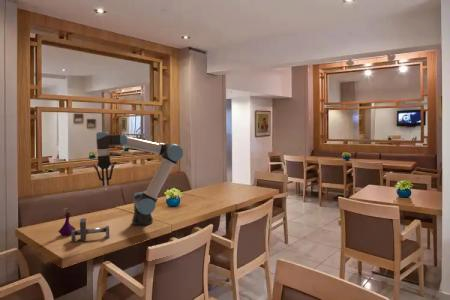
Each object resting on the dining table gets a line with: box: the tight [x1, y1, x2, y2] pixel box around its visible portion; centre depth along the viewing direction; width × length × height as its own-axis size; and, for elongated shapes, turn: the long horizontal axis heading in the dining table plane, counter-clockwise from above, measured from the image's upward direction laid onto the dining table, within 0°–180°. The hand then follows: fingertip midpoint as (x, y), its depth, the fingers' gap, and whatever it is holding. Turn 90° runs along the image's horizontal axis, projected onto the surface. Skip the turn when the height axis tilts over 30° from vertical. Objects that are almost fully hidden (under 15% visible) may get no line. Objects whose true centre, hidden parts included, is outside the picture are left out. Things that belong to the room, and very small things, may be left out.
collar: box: [79, 217, 87, 242], centre depth 198 cm, size 3×9×12 cm, turn 22°
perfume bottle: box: [58, 208, 76, 237], centre depth 208 cm, size 8×8×18 cm
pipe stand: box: [71, 225, 110, 243], centre depth 200 cm, size 22×5×7 cm, turn 112°
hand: (106, 190), depth 210 cm, fingers closed
